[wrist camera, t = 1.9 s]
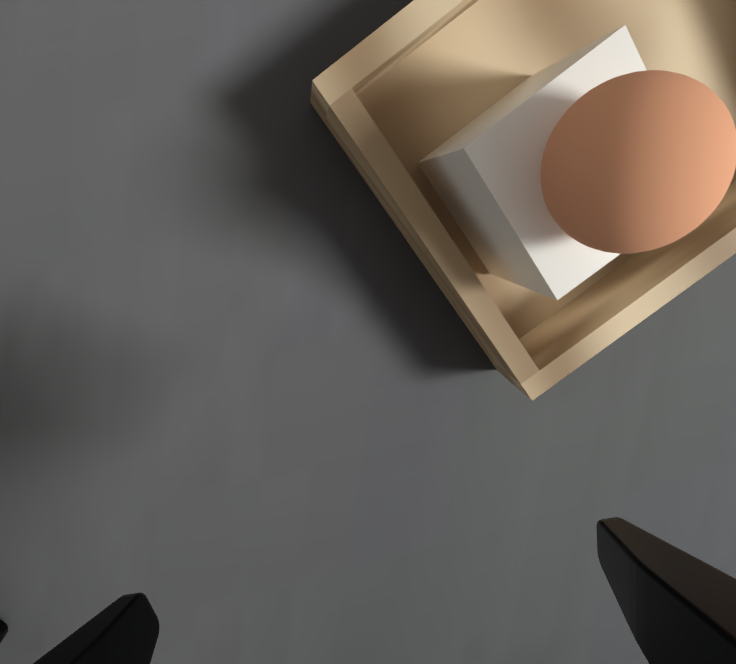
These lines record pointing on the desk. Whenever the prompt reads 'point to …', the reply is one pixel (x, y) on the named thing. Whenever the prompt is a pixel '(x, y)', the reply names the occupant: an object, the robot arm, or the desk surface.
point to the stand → (525, 172)
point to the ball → (639, 161)
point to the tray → (474, 96)
